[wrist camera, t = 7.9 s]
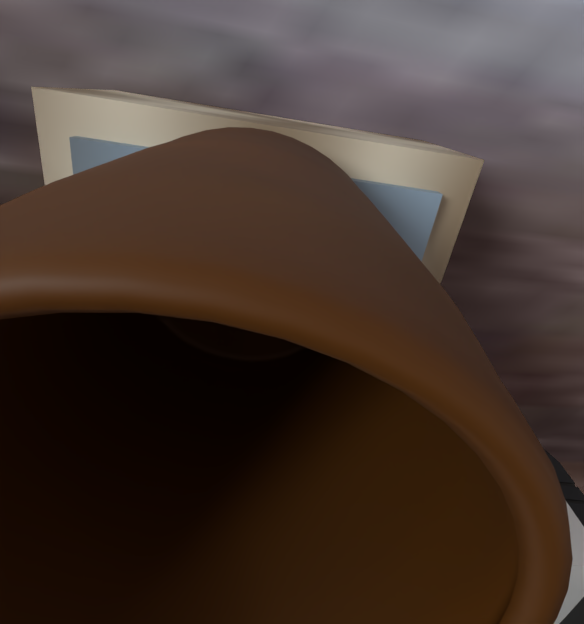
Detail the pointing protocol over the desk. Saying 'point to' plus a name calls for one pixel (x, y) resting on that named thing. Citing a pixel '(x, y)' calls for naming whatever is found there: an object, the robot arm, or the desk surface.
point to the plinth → (324, 138)
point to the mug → (253, 408)
